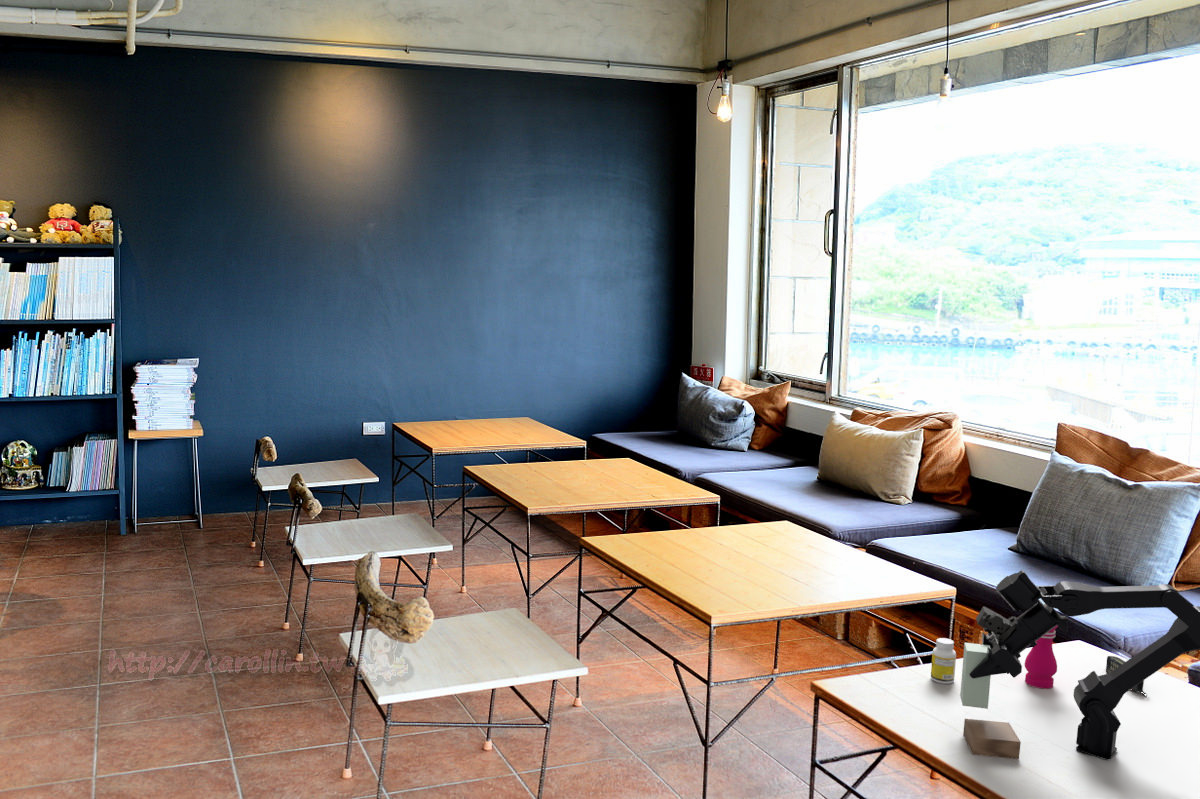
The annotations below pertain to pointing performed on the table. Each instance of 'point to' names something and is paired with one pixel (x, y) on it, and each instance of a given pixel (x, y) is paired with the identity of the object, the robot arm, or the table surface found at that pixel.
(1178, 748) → the table surface
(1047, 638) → the pepper mill
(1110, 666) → the mobile phone
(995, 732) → the walnut block
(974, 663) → the tall block
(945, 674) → the supplement bottle
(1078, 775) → the table surface
